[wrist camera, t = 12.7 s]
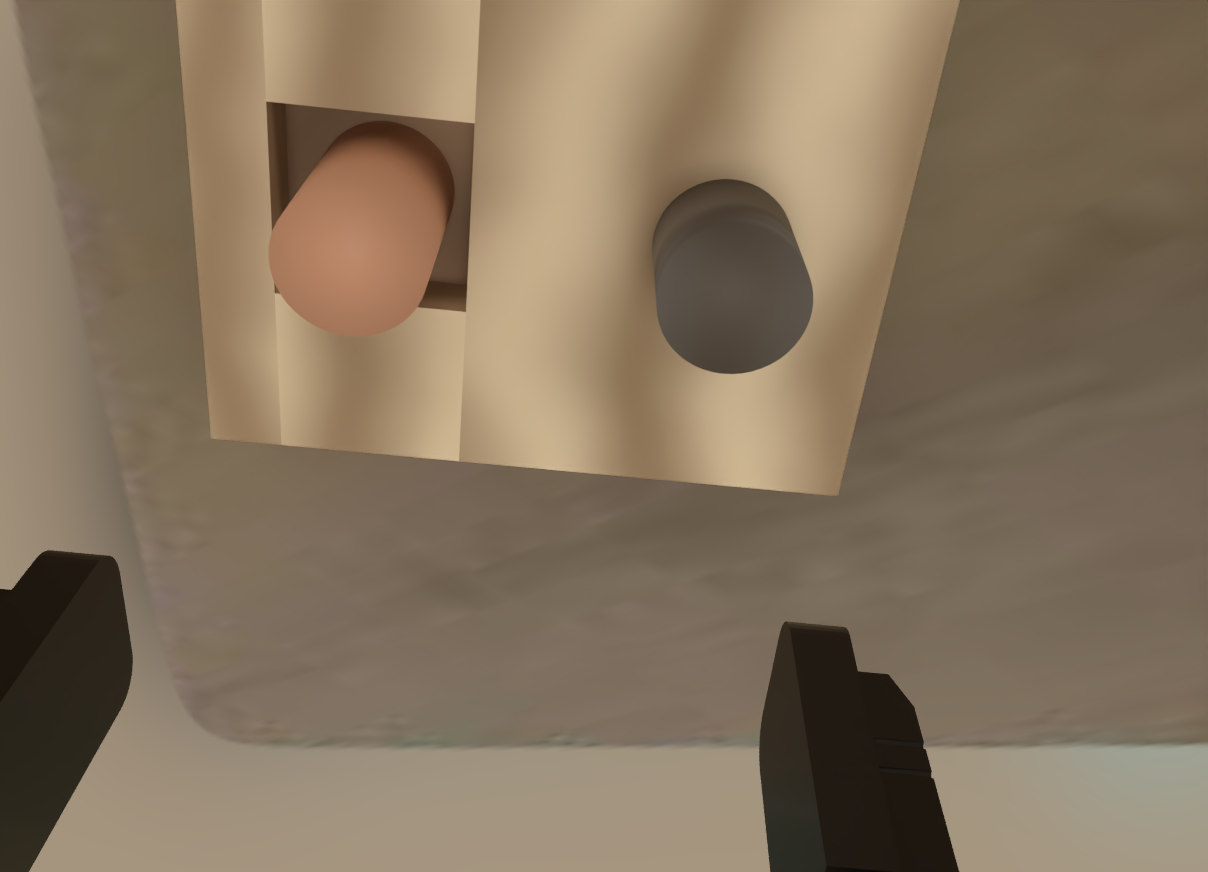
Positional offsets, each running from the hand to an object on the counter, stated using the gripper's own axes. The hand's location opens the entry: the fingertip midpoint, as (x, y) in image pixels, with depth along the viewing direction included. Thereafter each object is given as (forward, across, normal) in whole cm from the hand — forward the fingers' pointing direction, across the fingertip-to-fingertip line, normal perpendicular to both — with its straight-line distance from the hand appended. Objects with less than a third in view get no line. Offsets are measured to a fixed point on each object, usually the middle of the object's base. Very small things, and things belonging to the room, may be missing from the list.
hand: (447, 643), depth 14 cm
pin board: (+23, 0, +2) cm, 24 cm away
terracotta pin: (+22, +5, +2) cm, 23 cm away
